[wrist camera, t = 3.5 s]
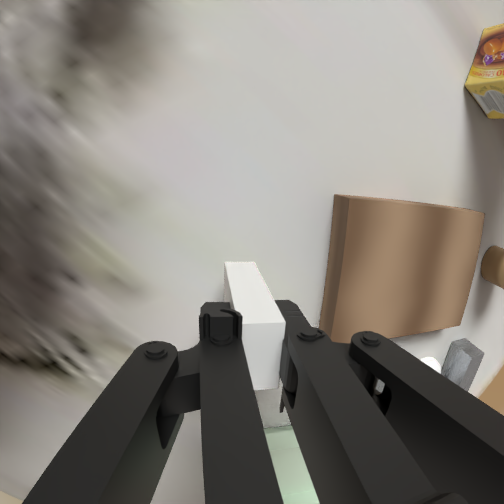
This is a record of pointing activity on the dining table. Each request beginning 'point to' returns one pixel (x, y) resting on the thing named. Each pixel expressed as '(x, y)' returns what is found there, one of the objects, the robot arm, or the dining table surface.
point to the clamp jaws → (458, 364)
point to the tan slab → (397, 267)
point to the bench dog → (493, 266)
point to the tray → (290, 466)
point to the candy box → (489, 73)
